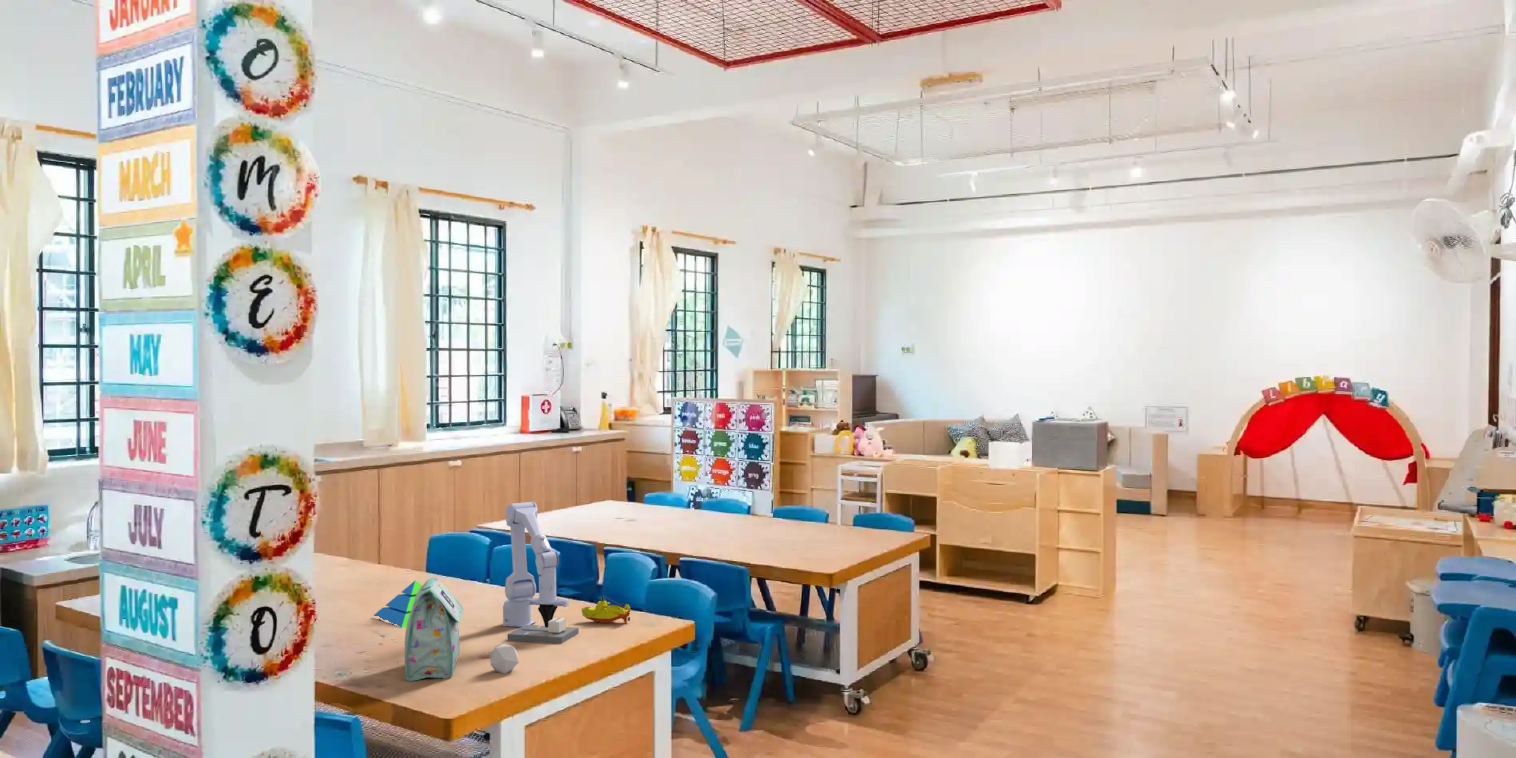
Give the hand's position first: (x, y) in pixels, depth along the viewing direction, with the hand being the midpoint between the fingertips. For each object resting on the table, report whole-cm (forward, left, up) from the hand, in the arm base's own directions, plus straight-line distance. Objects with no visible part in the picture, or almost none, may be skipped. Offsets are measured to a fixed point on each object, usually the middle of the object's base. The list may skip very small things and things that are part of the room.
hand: (548, 626), depth 338 cm
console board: (-2, 0, -3) cm, 4 cm away
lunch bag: (-17, -42, -4) cm, 45 cm away
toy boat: (+11, +23, -4) cm, 26 cm away
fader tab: (+3, 0, -1) cm, 4 cm away
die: (+5, -39, -4) cm, 40 cm away
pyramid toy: (-63, +17, -4) cm, 65 cm away
